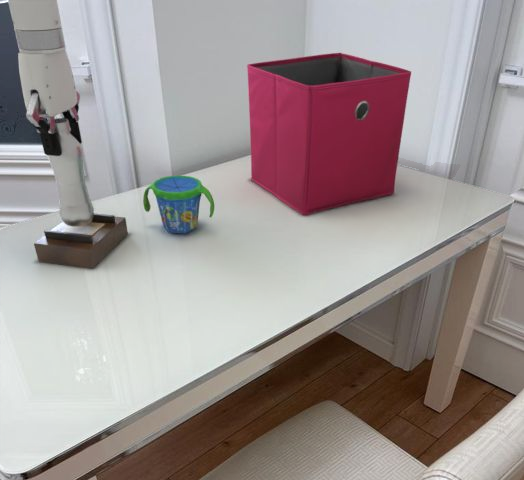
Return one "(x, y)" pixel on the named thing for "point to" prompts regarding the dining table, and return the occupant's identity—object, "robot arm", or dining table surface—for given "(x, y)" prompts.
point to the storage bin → (326, 129)
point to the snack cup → (178, 202)
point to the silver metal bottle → (71, 178)
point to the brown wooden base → (81, 241)
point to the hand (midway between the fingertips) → (63, 148)
